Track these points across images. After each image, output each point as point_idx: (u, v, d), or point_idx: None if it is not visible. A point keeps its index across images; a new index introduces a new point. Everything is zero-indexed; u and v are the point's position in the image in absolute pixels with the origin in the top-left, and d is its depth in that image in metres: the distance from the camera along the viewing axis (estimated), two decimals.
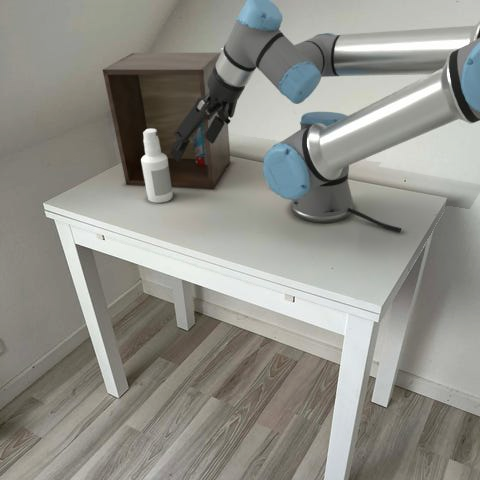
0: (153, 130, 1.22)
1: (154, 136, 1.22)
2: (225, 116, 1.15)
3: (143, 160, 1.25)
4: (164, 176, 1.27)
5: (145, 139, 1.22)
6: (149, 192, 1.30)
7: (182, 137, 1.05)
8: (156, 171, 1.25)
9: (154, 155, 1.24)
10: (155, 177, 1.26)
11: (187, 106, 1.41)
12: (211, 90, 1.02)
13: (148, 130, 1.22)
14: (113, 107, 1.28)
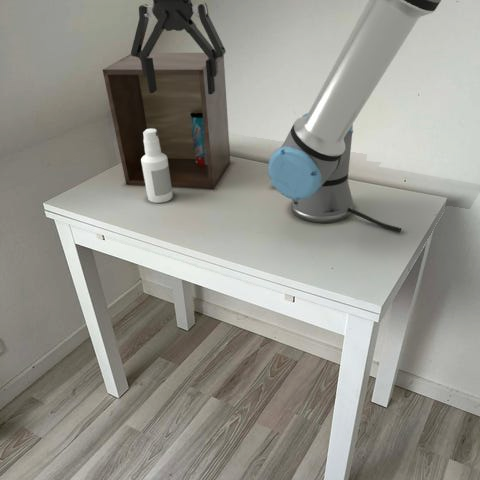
0: (153, 130, 1.22)
1: (154, 136, 1.22)
2: (201, 46, 1.00)
3: (143, 160, 1.25)
4: (164, 176, 1.27)
5: (145, 139, 1.22)
6: (149, 192, 1.30)
7: None
8: (156, 171, 1.25)
9: (154, 155, 1.24)
10: (155, 177, 1.26)
11: (187, 106, 1.41)
12: None
13: (148, 130, 1.22)
14: (113, 107, 1.28)
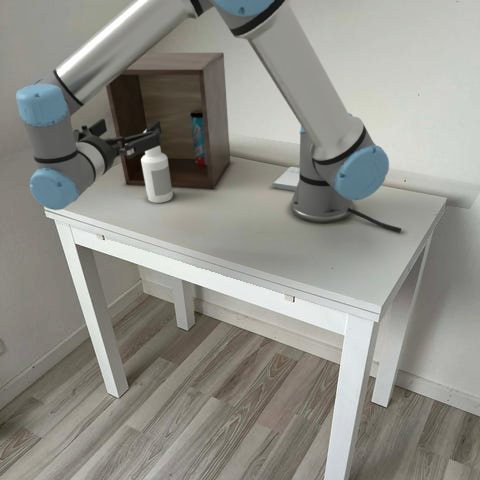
0: None
1: None
2: (88, 132, 1.06)
3: (143, 160, 1.25)
4: (164, 176, 1.27)
5: None
6: (149, 192, 1.30)
7: (157, 136, 1.03)
8: (156, 171, 1.25)
9: (154, 155, 1.24)
10: (155, 177, 1.26)
11: (187, 106, 1.41)
12: (113, 158, 0.98)
13: None
14: (113, 107, 1.28)
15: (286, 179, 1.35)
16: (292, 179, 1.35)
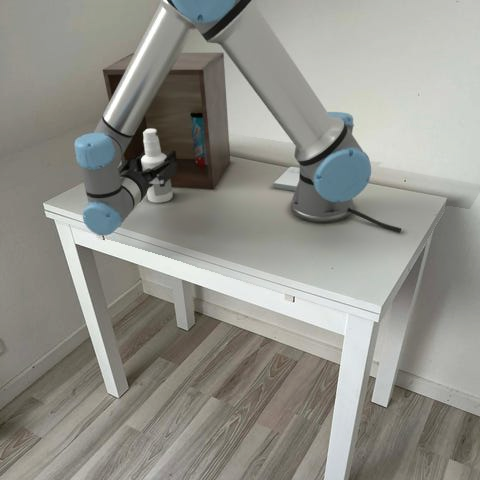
0: (153, 130, 1.22)
1: (154, 136, 1.22)
2: (134, 163, 1.23)
3: (143, 160, 1.25)
4: None
5: (145, 139, 1.22)
6: (149, 192, 1.30)
7: None
8: None
9: (154, 155, 1.24)
10: None
11: (187, 106, 1.41)
12: (147, 188, 1.16)
13: (148, 130, 1.22)
14: None
15: (286, 179, 1.35)
16: (292, 179, 1.35)
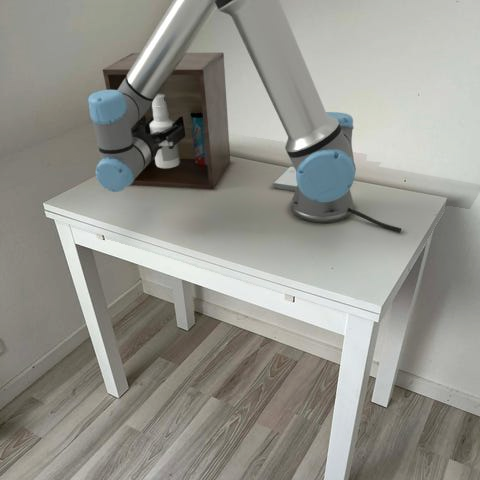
0: (161, 95, 1.25)
1: (162, 101, 1.25)
2: (143, 128, 1.26)
3: (151, 125, 1.28)
4: None
5: (154, 104, 1.25)
6: (157, 158, 1.32)
7: None
8: None
9: (163, 119, 1.27)
10: None
11: (187, 106, 1.41)
12: (156, 150, 1.19)
13: None
14: None
15: (286, 179, 1.35)
16: (292, 179, 1.35)
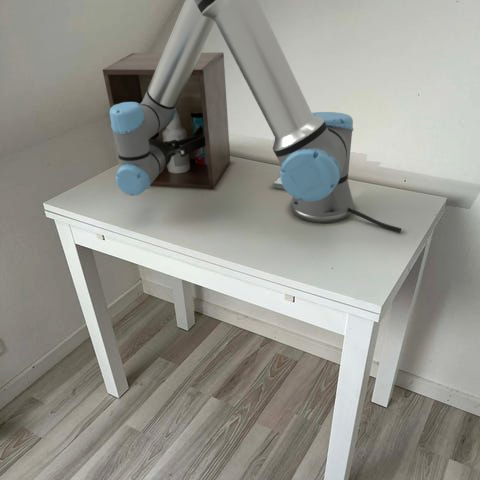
0: None
1: None
2: None
3: (164, 133, 1.37)
4: None
5: None
6: (169, 163, 1.41)
7: (202, 138, 1.32)
8: None
9: (175, 128, 1.36)
10: None
11: (187, 106, 1.41)
12: (170, 156, 1.27)
13: None
14: None
15: None
16: None
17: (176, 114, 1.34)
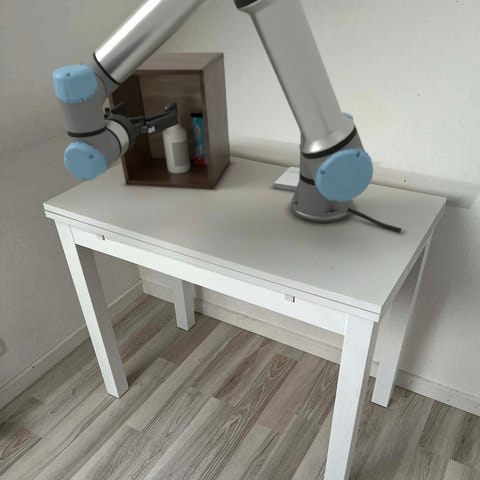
0: None
1: None
2: (111, 113, 1.14)
3: (164, 133, 1.37)
4: (184, 148, 1.39)
5: None
6: (169, 163, 1.41)
7: (175, 115, 1.12)
8: (176, 144, 1.37)
9: (175, 128, 1.36)
10: (175, 149, 1.38)
11: (187, 106, 1.41)
12: (136, 135, 1.07)
13: (169, 105, 1.34)
14: (113, 107, 1.28)
15: (286, 179, 1.35)
16: (292, 179, 1.35)
17: None
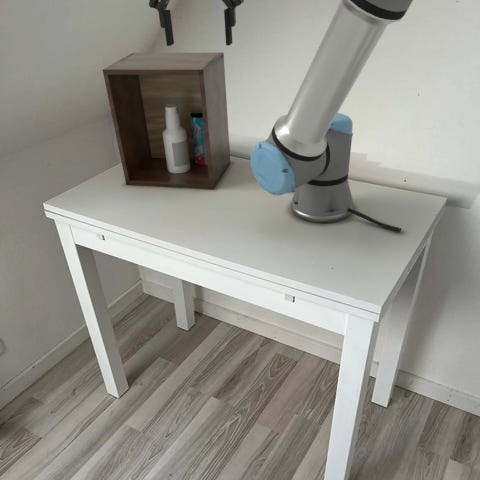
0: (174, 105, 1.34)
1: (175, 110, 1.34)
2: None
3: (164, 133, 1.37)
4: (184, 148, 1.39)
5: (167, 113, 1.34)
6: (169, 163, 1.41)
7: None
8: (176, 144, 1.37)
9: (175, 128, 1.36)
10: (175, 149, 1.38)
11: (187, 106, 1.41)
12: None
13: (169, 105, 1.34)
14: (113, 107, 1.28)
15: None
16: None
17: (176, 114, 1.34)
